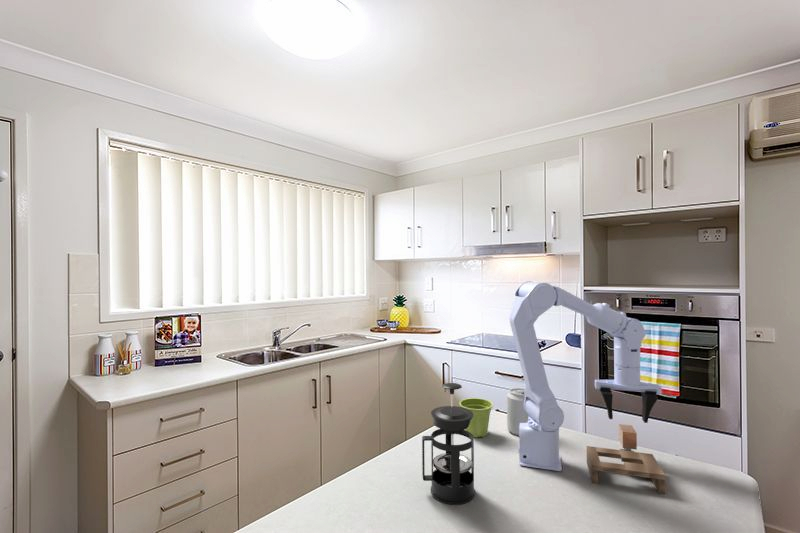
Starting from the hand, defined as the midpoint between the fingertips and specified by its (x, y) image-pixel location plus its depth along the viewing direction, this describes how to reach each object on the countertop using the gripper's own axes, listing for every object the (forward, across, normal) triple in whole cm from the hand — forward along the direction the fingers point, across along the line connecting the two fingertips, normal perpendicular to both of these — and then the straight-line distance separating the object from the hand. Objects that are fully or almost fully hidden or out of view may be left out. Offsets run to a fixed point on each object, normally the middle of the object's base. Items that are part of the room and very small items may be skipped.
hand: (627, 419), depth 101 cm
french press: (+10, +39, +29) cm, 50 cm away
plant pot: (+10, +38, -3) cm, 39 cm away
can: (+10, +26, -8) cm, 29 cm away
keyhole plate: (+9, +3, +11) cm, 15 cm away
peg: (+9, 0, 0) cm, 9 cm away
